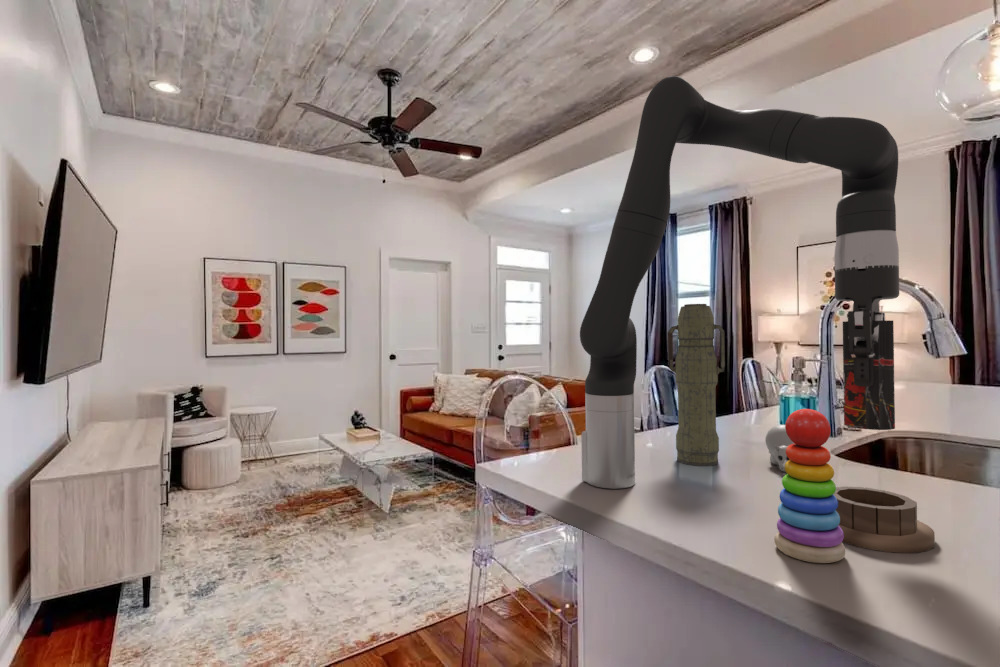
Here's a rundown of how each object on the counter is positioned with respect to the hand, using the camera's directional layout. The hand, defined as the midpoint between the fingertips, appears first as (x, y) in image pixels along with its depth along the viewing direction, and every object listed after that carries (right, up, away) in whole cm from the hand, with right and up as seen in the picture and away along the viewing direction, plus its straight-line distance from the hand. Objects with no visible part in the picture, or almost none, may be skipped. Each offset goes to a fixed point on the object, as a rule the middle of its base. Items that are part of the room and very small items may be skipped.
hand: (867, 383), depth 74 cm
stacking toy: (-12, -22, -6) cm, 26 cm away
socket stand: (0, -21, 0) cm, 21 cm away
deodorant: (0, -6, 0) cm, 6 cm away
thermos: (-9, -22, +42) cm, 48 cm away
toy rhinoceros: (+8, -21, +36) cm, 43 cm away
